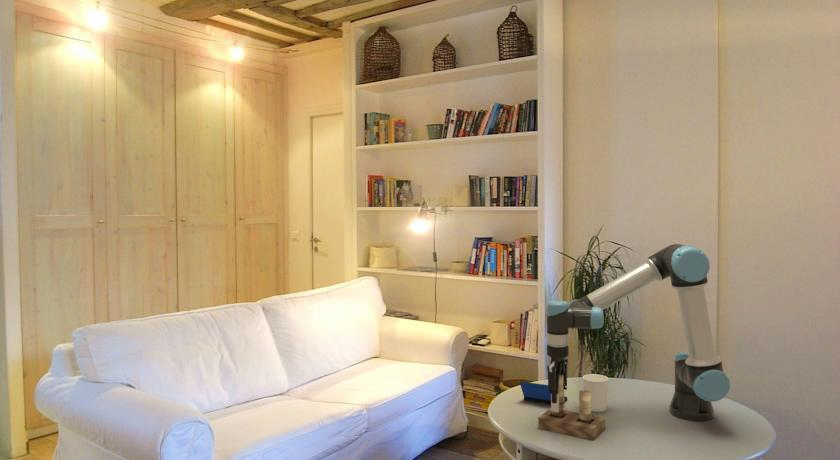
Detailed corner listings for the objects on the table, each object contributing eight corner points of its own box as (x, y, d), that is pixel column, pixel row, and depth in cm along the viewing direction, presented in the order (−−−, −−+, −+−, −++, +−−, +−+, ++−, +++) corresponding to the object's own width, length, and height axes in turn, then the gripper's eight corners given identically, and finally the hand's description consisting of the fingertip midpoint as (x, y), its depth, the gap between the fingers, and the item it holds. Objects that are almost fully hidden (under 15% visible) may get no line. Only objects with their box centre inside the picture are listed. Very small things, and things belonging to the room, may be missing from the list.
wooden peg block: (605, 429, 212) (605, 389, 211) (593, 440, 202) (593, 399, 202) (551, 418, 224) (551, 380, 223) (538, 428, 214) (537, 389, 213)
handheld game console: (568, 400, 244) (568, 377, 244) (557, 410, 233) (557, 386, 232) (531, 394, 252) (531, 372, 252) (519, 403, 241) (519, 381, 240)
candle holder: (605, 404, 238) (605, 374, 237) (611, 412, 228) (611, 381, 227) (580, 403, 239) (580, 373, 238) (584, 412, 229) (584, 381, 228)
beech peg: (565, 413, 216) (565, 374, 216) (561, 416, 213) (560, 377, 212) (554, 411, 219) (554, 372, 218) (549, 414, 215) (549, 375, 215)
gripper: (557, 338, 224) (557, 400, 225) (537, 348, 210) (538, 414, 211) (576, 341, 219) (576, 404, 220) (558, 351, 205) (558, 418, 206)
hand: (557, 409), depth 216 cm, fingers closed on beech peg, 4 cm apart
